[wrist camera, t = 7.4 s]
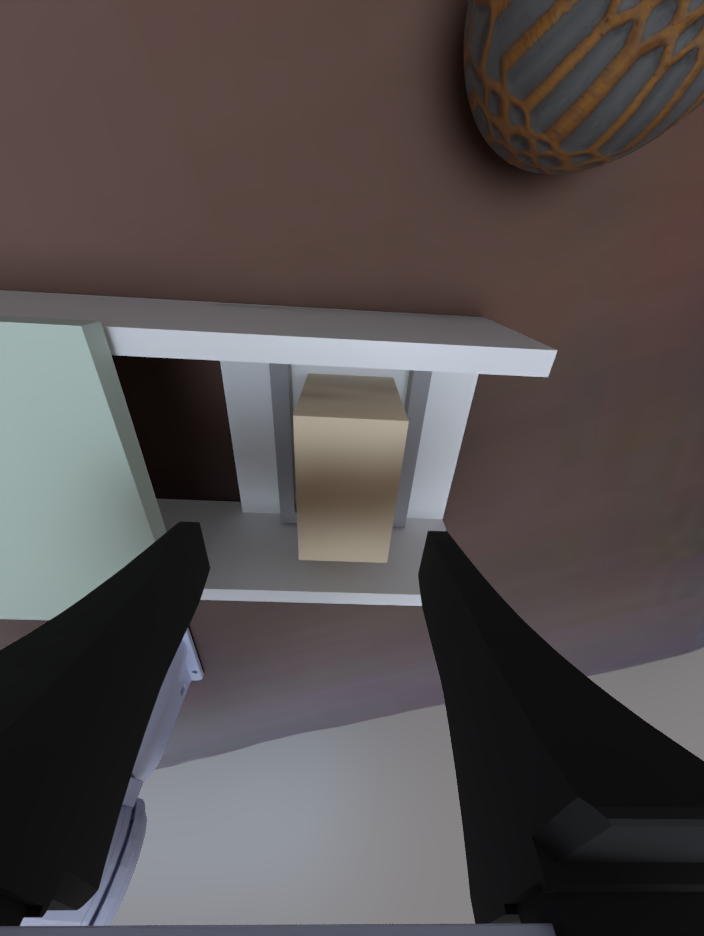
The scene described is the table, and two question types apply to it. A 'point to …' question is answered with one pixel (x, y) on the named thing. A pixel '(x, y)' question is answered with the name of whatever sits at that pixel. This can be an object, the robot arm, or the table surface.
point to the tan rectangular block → (347, 466)
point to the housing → (272, 434)
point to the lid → (66, 468)
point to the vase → (580, 77)
